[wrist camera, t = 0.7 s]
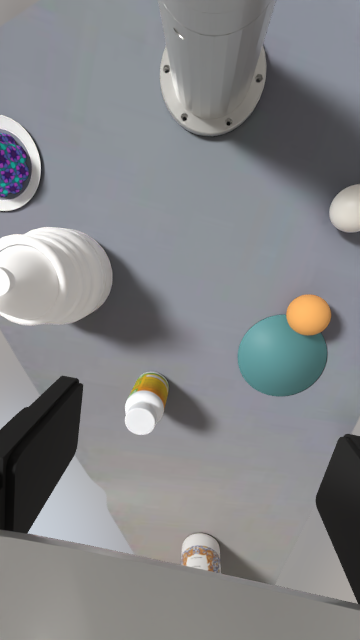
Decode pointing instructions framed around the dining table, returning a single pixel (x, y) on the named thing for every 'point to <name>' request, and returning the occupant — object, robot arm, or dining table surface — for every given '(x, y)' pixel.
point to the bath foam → (201, 553)
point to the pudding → (16, 165)
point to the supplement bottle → (146, 403)
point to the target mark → (280, 357)
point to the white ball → (346, 209)
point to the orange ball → (308, 314)
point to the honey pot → (52, 276)
